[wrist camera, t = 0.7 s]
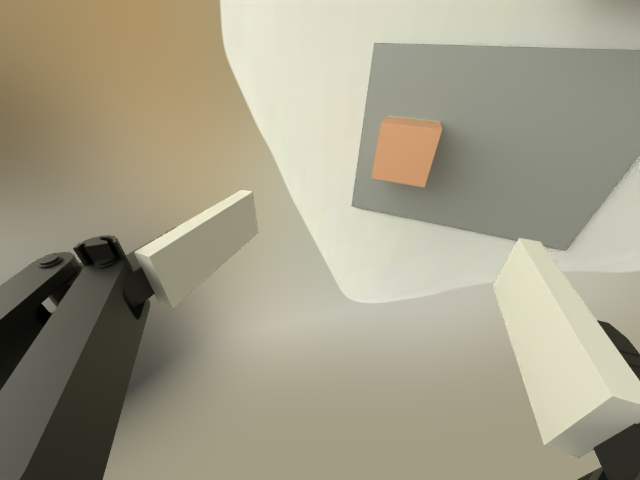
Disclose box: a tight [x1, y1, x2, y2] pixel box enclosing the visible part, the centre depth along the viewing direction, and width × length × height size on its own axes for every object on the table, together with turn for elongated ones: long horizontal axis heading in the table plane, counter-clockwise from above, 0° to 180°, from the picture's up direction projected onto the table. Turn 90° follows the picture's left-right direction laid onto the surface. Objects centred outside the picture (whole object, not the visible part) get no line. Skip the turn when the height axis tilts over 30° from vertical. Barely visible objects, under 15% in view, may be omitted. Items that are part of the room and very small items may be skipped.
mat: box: [352, 43, 640, 250], centre depth 29 cm, size 20×28×1 cm
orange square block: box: [371, 116, 442, 187], centre depth 29 cm, size 6×6×6 cm
